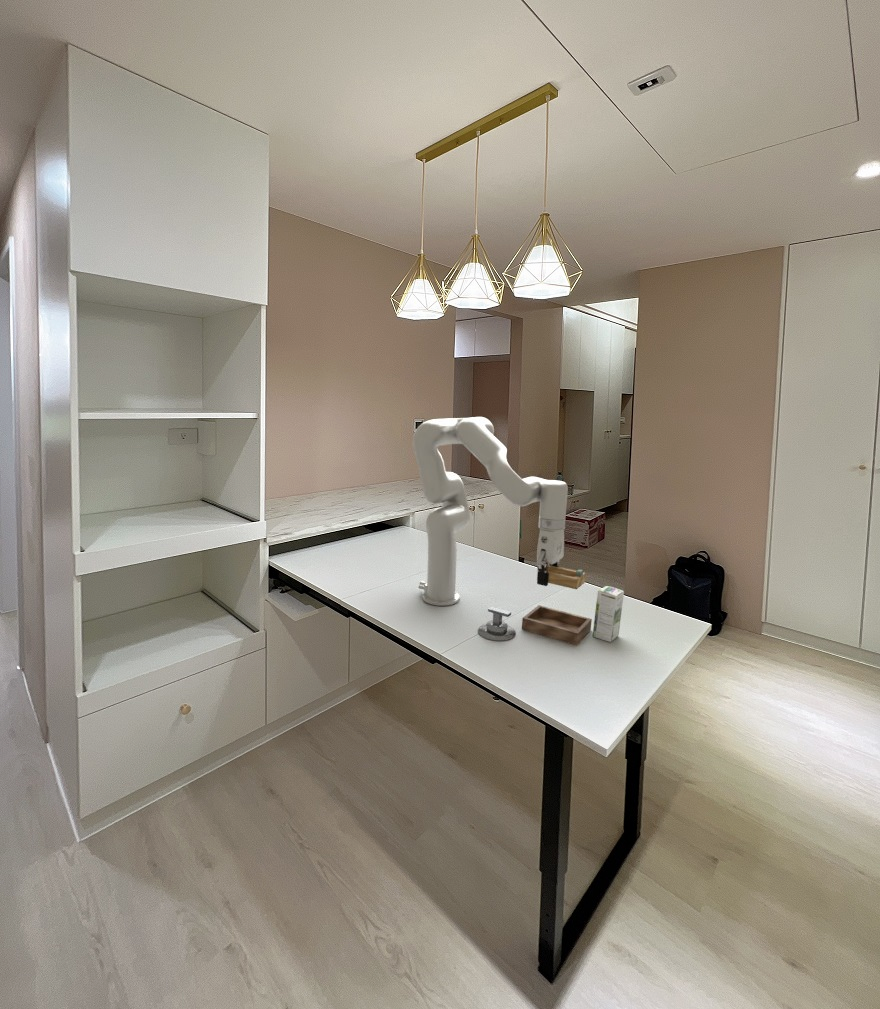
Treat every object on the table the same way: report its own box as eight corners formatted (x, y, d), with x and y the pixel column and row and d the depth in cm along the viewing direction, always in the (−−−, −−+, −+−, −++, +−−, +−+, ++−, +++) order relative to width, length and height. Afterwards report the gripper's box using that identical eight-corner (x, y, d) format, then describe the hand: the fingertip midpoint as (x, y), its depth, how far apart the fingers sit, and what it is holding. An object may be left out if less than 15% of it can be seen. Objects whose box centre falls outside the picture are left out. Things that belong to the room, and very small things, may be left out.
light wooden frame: (576, 589, 150) (577, 574, 149) (537, 580, 157) (537, 565, 156) (584, 582, 156) (586, 567, 155) (546, 574, 163) (547, 559, 162)
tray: (521, 629, 159) (522, 617, 159) (537, 615, 169) (538, 605, 169) (576, 645, 150) (578, 633, 150) (590, 630, 160) (591, 619, 159)
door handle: (471, 634, 155) (472, 611, 154) (489, 621, 164) (490, 599, 163) (505, 644, 149) (506, 621, 148) (521, 630, 158) (523, 608, 157)
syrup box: (600, 630, 160) (604, 584, 157) (619, 636, 157) (624, 590, 154) (592, 636, 156) (596, 590, 153) (611, 643, 152) (616, 595, 149)
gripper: (552, 531, 146) (548, 592, 150) (574, 519, 160) (570, 575, 164) (527, 527, 150) (523, 586, 154) (551, 515, 164) (547, 570, 168)
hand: (547, 580), depth 159 cm, fingers closed on light wooden frame, 7 cm apart
